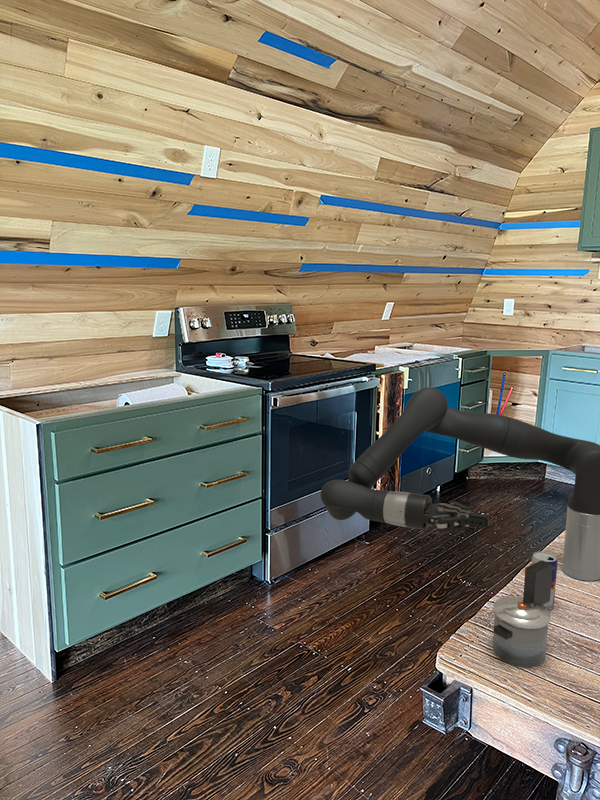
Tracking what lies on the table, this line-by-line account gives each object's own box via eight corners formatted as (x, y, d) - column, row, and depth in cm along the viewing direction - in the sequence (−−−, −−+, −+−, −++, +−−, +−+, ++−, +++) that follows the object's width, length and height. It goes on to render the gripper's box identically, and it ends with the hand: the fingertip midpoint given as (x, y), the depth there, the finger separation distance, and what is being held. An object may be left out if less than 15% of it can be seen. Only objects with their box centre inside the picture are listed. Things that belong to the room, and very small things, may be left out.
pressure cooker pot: (519, 627, 129) (522, 593, 127) (563, 650, 121) (566, 614, 119) (477, 650, 121) (479, 614, 119) (520, 677, 113) (523, 638, 111)
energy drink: (552, 614, 134) (556, 564, 131) (526, 607, 136) (530, 558, 134) (555, 602, 138) (559, 554, 136) (530, 596, 141) (534, 549, 138)
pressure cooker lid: (521, 591, 127) (524, 552, 125) (568, 613, 119) (572, 572, 117) (481, 610, 120) (484, 569, 118) (528, 635, 112) (531, 592, 110)
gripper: (398, 504, 126) (483, 516, 119) (416, 484, 138) (494, 494, 130) (398, 537, 128) (482, 551, 120) (415, 515, 140) (493, 526, 132)
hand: (488, 521), depth 125 cm, fingers closed
